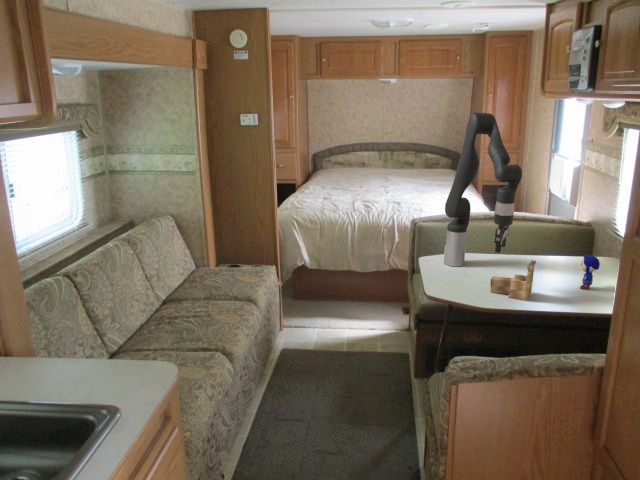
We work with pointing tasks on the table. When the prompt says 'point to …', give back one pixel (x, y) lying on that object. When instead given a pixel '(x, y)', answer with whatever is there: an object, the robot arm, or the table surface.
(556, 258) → the table surface
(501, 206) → the robot arm
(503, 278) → the light brown wooden block
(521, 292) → the wooden chair
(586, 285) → the toy
